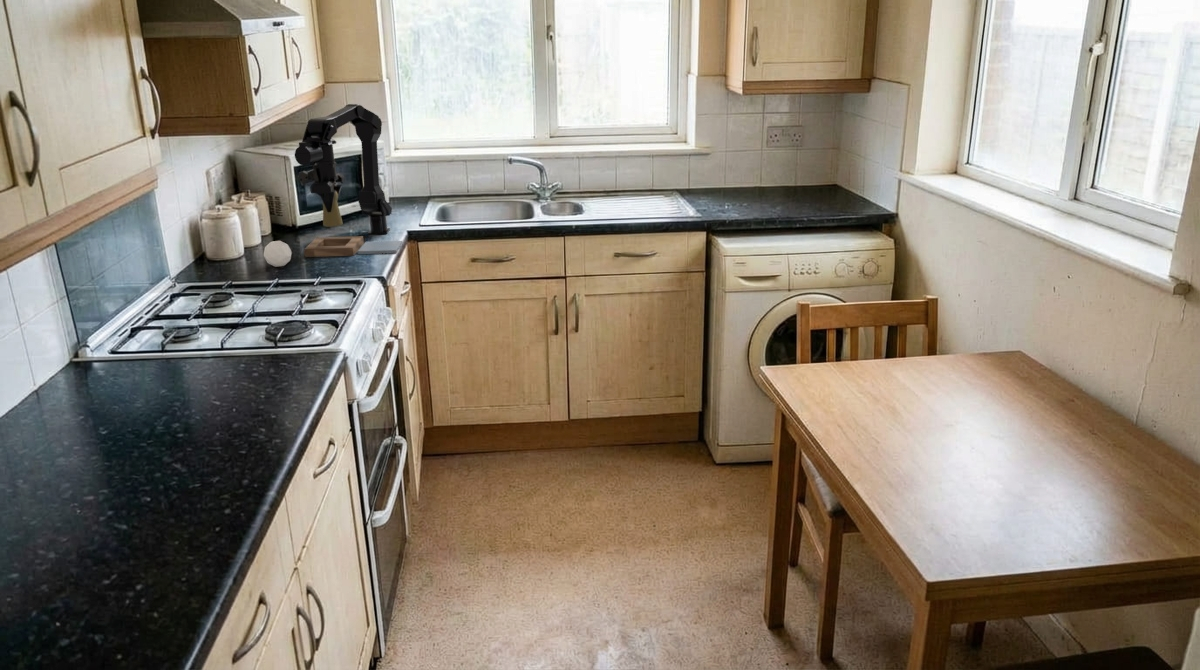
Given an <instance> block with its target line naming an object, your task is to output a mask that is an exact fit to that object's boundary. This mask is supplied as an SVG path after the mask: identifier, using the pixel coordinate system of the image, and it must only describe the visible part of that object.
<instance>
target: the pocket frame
mask: <svg viewBox="0 0 1200 670" xmlns="http://www.w3.org/2000/svg"><path fill="white" fill-rule="evenodd" d="M364 243H365V241H364V236H363V235H361V236H354V235H353V236H326V237H323V236H322V237H320V236H319V237H318V236H317V237H316V238H314V239H313V240H312V241H311V242H310V243H309V244H308V245H306V246H305V248H304V249H303V251H304V258H312V257H313V258H314V257H317V258H318V257H352V256H353V255H354V256H355V255H356V254H357V253H358V250H359V249H360V248H361V247H362V245H363V244H364Z"/></svg>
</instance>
